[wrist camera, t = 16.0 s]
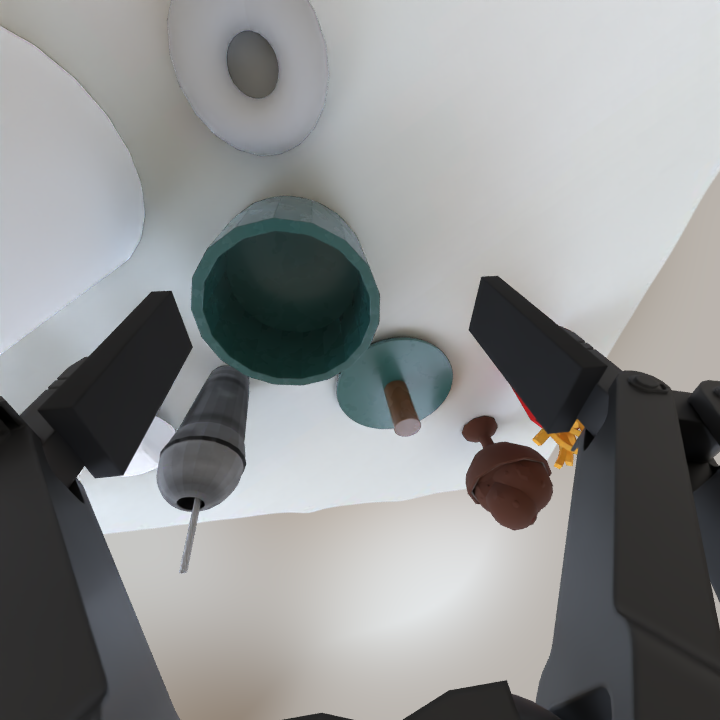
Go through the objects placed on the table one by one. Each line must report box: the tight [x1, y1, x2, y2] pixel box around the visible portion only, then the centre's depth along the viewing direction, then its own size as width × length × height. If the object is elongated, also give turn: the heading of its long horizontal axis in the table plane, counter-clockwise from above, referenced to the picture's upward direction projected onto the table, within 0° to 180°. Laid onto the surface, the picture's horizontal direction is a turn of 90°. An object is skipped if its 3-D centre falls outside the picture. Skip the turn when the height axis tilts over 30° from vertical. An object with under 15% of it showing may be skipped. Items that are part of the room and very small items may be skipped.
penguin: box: [123, 410, 176, 476], centre depth 35 cm, size 9×8×15 cm
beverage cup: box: [157, 366, 249, 573], centre depth 30 cm, size 7×7×20 cm
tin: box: [191, 196, 380, 385], centre depth 28 cm, size 14×14×8 cm
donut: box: [167, 0, 329, 156], centre depth 21 cm, size 10×3×10 cm
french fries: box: [512, 388, 584, 469], centre depth 36 cm, size 9×8×15 cm
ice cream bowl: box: [462, 416, 553, 530], centre depth 43 cm, size 11×11×15 cm
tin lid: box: [337, 337, 453, 436], centre depth 38 cm, size 15×15×8 cm
